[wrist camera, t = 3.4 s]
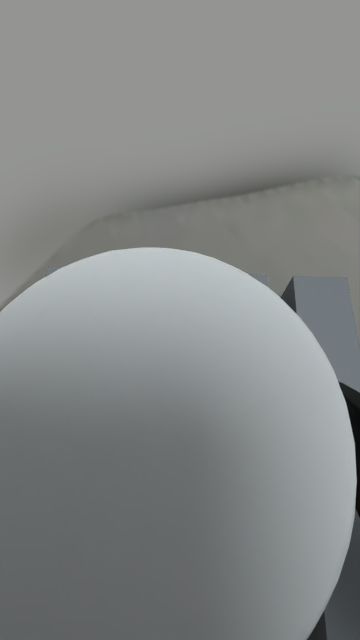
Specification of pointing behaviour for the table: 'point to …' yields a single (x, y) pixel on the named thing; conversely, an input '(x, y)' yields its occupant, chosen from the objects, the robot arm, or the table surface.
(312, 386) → the supplement bottle
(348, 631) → the cup holder
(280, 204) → the table surface
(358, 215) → the table surface
